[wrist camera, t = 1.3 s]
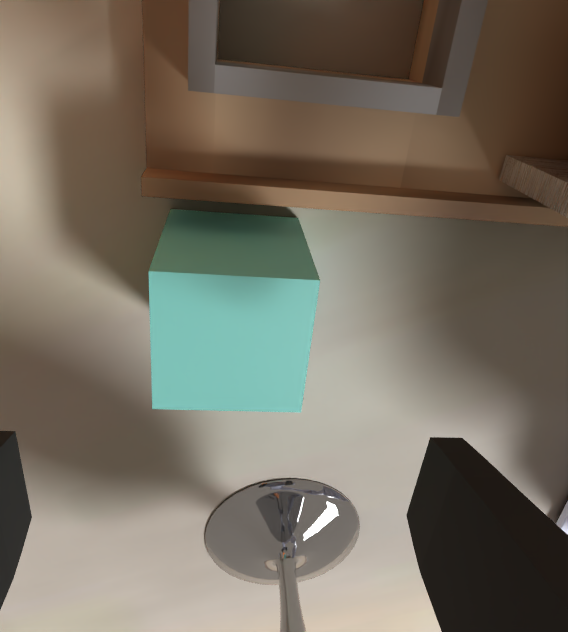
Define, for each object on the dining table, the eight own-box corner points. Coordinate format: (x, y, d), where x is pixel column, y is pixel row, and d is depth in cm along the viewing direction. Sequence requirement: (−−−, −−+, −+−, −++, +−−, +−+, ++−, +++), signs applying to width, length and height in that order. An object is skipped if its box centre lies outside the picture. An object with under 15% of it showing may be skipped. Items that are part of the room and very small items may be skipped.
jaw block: (285, 325, 18) (300, 412, 14) (171, 320, 18) (152, 408, 14) (297, 217, 16) (320, 280, 12) (170, 208, 16) (148, 271, 12)
